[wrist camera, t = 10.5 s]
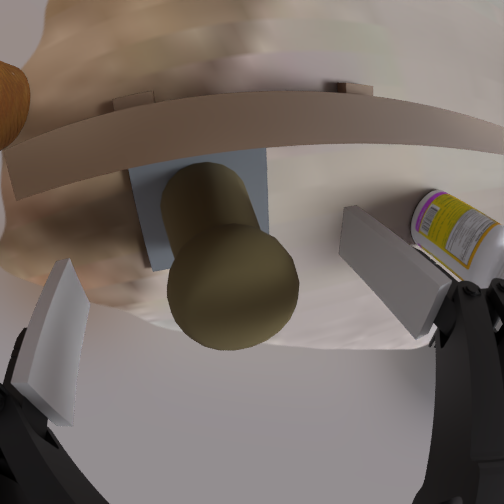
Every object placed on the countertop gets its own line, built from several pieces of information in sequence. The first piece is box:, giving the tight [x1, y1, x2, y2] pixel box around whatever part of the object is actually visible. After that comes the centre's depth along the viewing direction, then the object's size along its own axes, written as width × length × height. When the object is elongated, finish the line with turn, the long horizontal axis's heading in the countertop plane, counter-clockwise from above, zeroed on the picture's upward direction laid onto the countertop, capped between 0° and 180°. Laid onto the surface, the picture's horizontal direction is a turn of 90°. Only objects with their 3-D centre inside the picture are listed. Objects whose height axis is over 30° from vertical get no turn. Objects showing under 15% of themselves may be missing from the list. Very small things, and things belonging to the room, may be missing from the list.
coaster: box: [128, 148, 269, 272], centre depth 19 cm, size 9×9×1 cm
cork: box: [160, 162, 299, 350], centre depth 14 cm, size 6×6×11 cm
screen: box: [4, 83, 504, 201], centre depth 11 cm, size 3×18×13 cm, turn 93°
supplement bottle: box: [411, 190, 504, 289], centre depth 21 cm, size 7×7×13 cm
